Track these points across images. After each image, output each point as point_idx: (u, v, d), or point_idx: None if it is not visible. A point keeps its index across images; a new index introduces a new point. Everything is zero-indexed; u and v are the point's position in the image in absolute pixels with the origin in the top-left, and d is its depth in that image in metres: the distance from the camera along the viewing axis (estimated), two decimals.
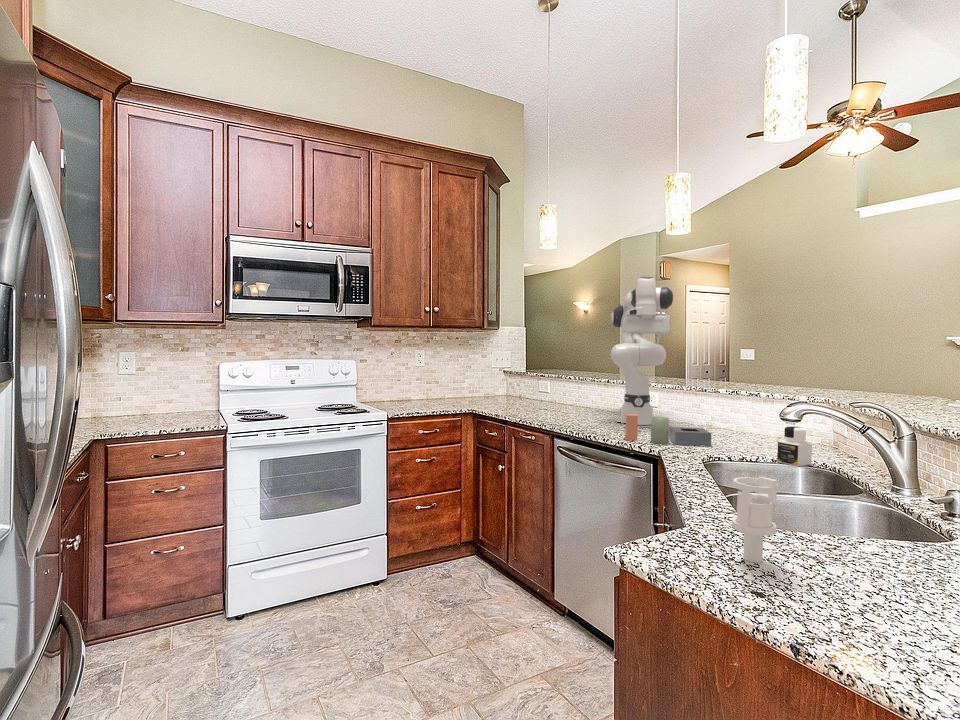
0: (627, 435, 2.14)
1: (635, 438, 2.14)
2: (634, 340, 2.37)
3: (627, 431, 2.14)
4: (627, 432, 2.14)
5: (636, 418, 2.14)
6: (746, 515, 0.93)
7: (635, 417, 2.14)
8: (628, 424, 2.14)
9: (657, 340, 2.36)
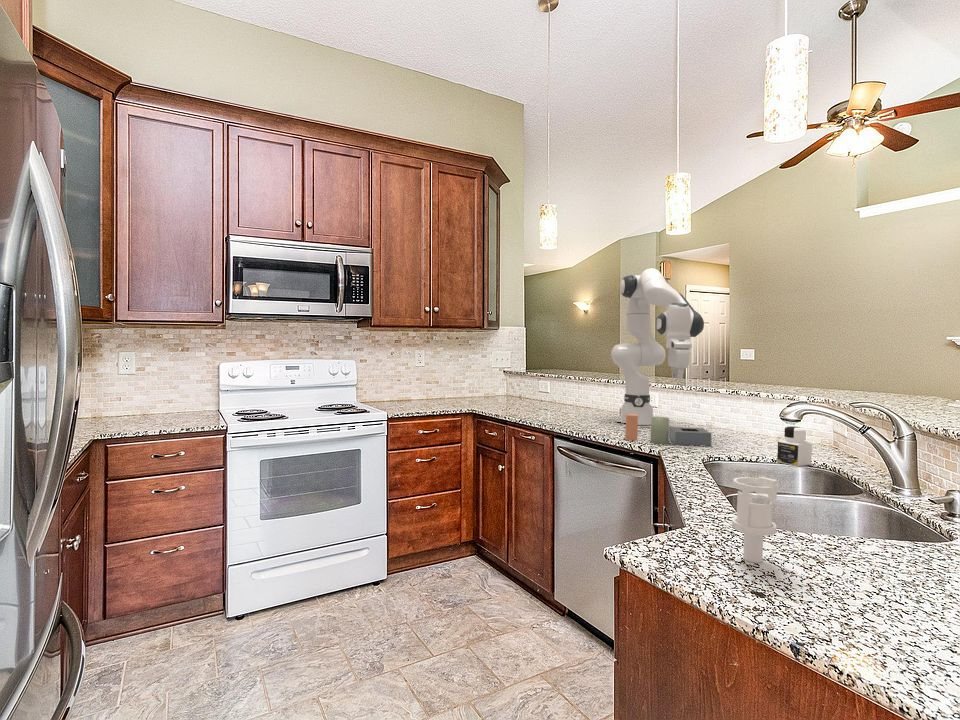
0: (627, 435, 2.14)
1: (635, 438, 2.14)
2: None
3: (627, 431, 2.14)
4: (627, 432, 2.14)
5: (636, 418, 2.14)
6: (746, 515, 0.93)
7: (635, 417, 2.14)
8: (628, 424, 2.14)
9: None
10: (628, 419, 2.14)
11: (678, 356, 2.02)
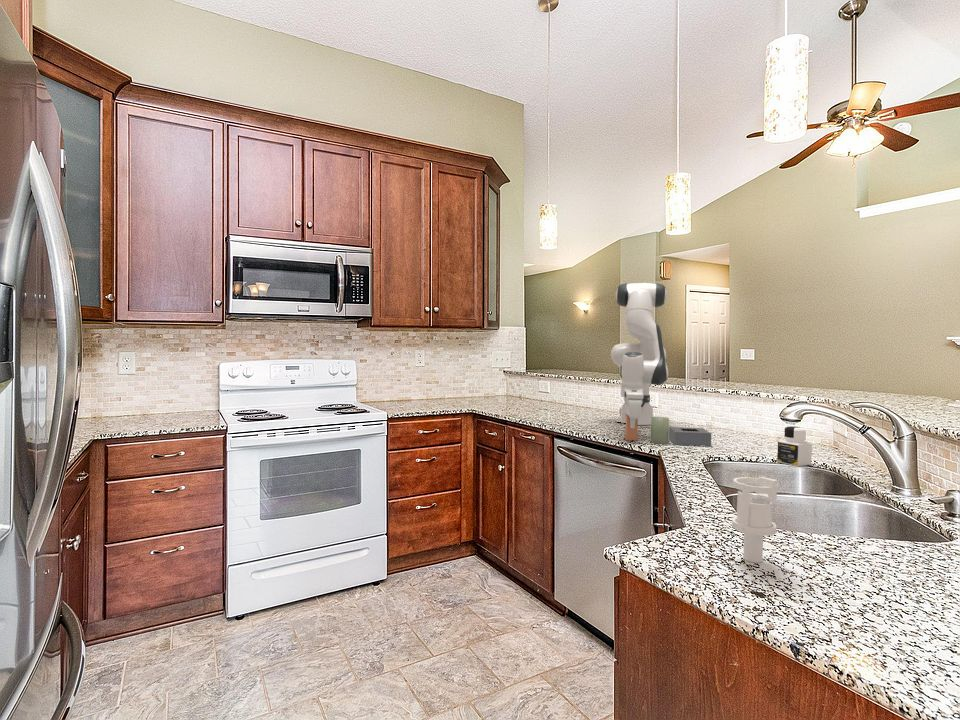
0: (627, 435, 2.14)
1: (635, 438, 2.14)
2: (634, 425, 2.13)
3: (627, 431, 2.14)
4: (627, 432, 2.14)
5: None
6: (746, 515, 0.93)
7: None
8: (628, 424, 2.14)
9: None
10: (628, 419, 2.14)
11: (630, 407, 2.07)
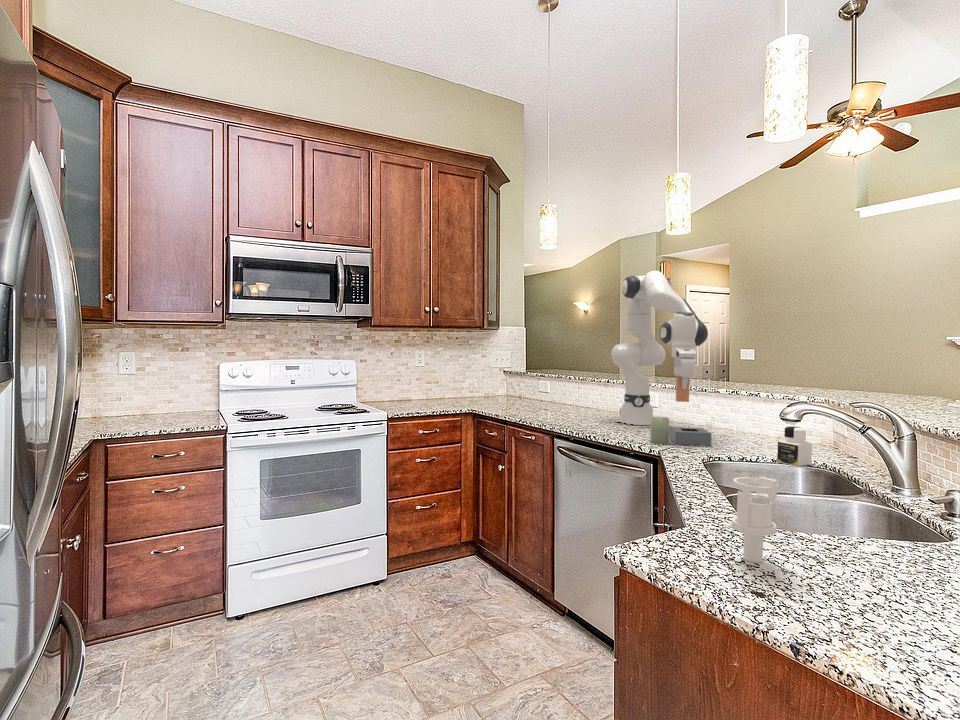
0: (678, 396, 2.09)
1: (687, 399, 2.09)
2: None
3: (679, 392, 2.09)
4: (678, 393, 2.09)
5: (688, 379, 2.09)
6: (746, 515, 0.93)
7: None
8: (679, 385, 2.09)
9: None
10: (679, 380, 2.09)
11: (683, 365, 2.02)
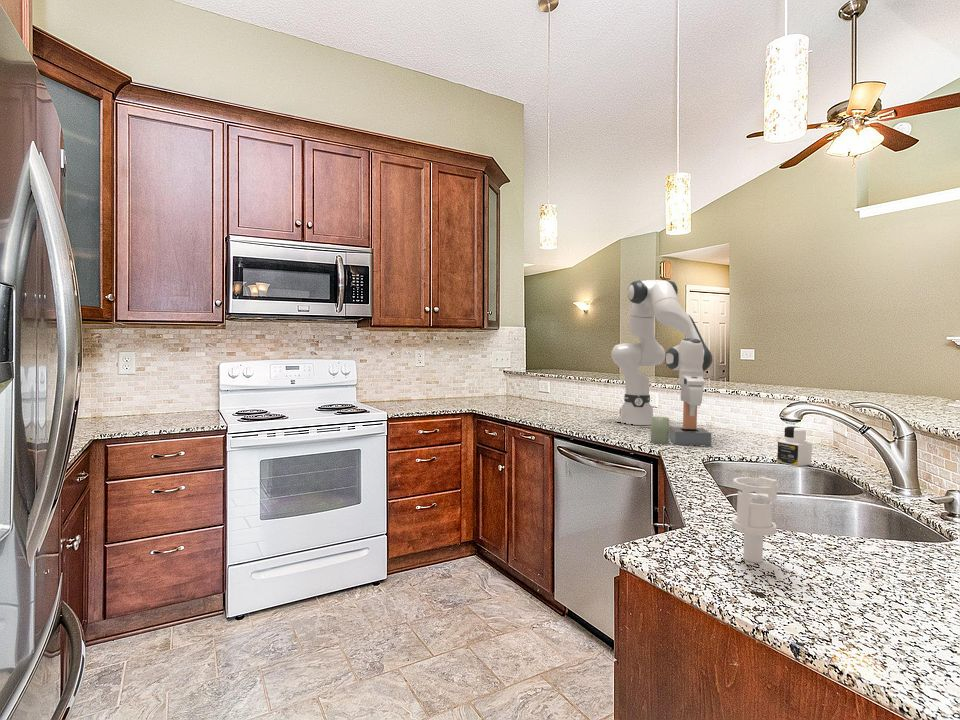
0: (686, 423, 2.09)
1: (694, 426, 2.09)
2: None
3: (686, 419, 2.09)
4: (686, 420, 2.09)
5: None
6: (746, 515, 0.93)
7: None
8: (687, 412, 2.09)
9: None
10: (687, 407, 2.09)
11: (691, 393, 2.01)
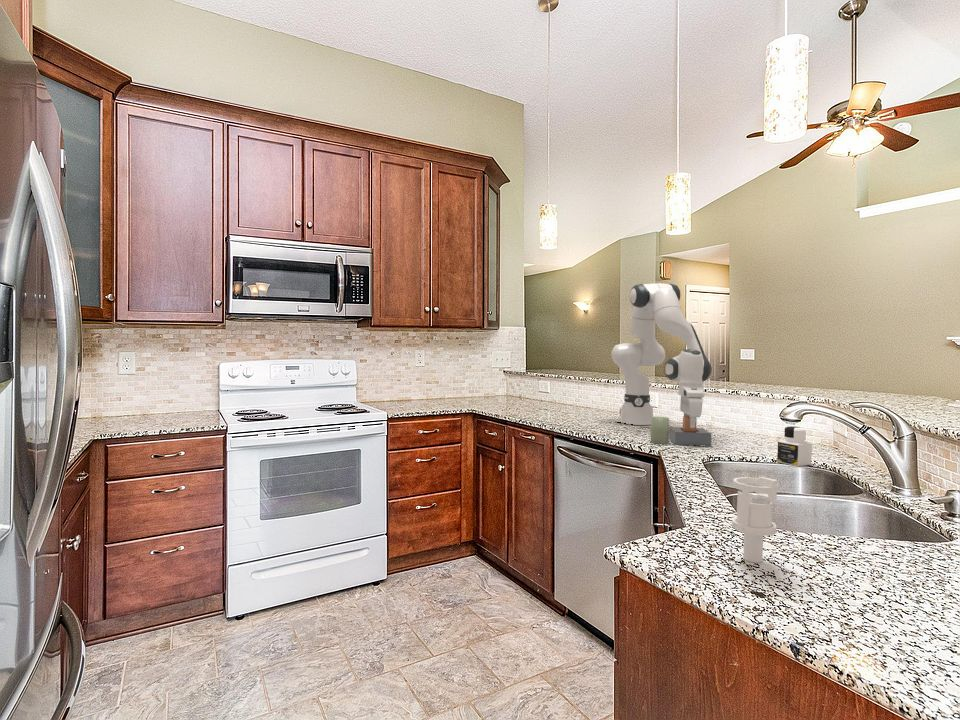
0: None
1: None
2: None
3: None
4: None
5: None
6: (746, 515, 0.93)
7: None
8: (686, 427, 2.09)
9: None
10: (686, 422, 2.09)
11: (691, 405, 2.02)
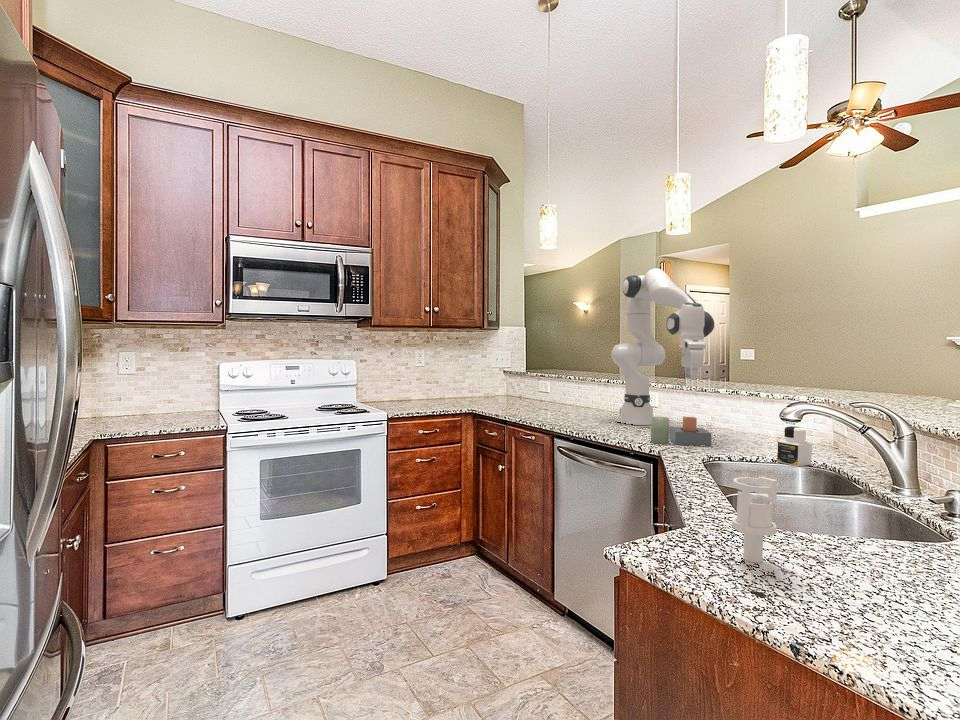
0: None
1: None
2: None
3: None
4: None
5: (695, 421, 2.09)
6: (746, 515, 0.93)
7: (694, 420, 2.09)
8: (686, 427, 2.09)
9: None
10: (687, 422, 2.09)
11: (692, 356, 2.01)
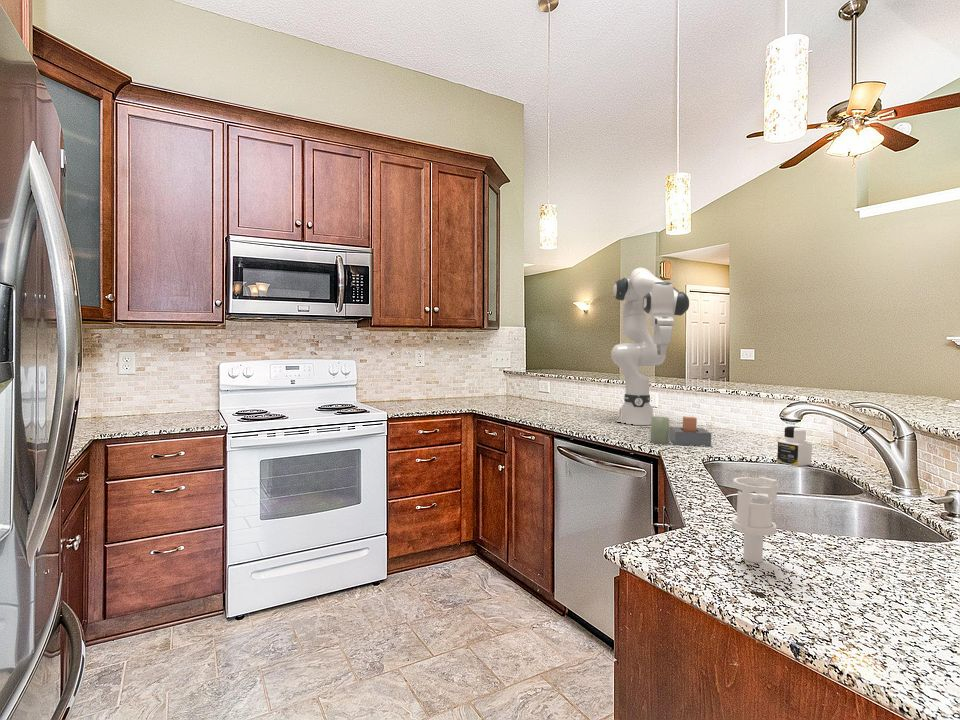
0: None
1: None
2: None
3: None
4: None
5: (695, 421, 2.09)
6: (746, 515, 0.93)
7: (694, 420, 2.09)
8: (686, 427, 2.09)
9: None
10: (687, 422, 2.09)
11: (661, 332, 2.11)
